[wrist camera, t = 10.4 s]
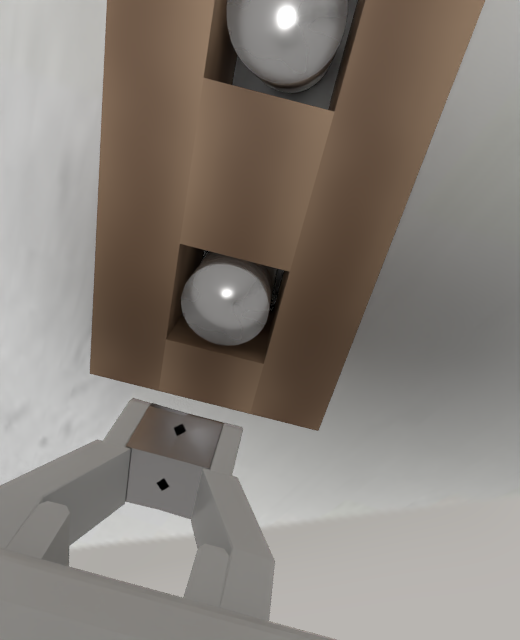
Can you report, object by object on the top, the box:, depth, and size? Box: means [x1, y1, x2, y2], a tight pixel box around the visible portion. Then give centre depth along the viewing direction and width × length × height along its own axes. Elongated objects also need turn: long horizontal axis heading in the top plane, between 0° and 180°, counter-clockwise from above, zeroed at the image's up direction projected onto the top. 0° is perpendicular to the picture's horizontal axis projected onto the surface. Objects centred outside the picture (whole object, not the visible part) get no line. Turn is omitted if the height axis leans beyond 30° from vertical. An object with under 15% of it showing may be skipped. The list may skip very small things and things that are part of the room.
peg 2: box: [227, 0, 348, 93], centre depth 16 cm, size 4×4×6 cm
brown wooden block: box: [90, 0, 485, 431], centre depth 19 cm, size 12×22×6 cm, turn 167°
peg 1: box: [181, 251, 277, 346], centre depth 21 cm, size 4×4×6 cm
